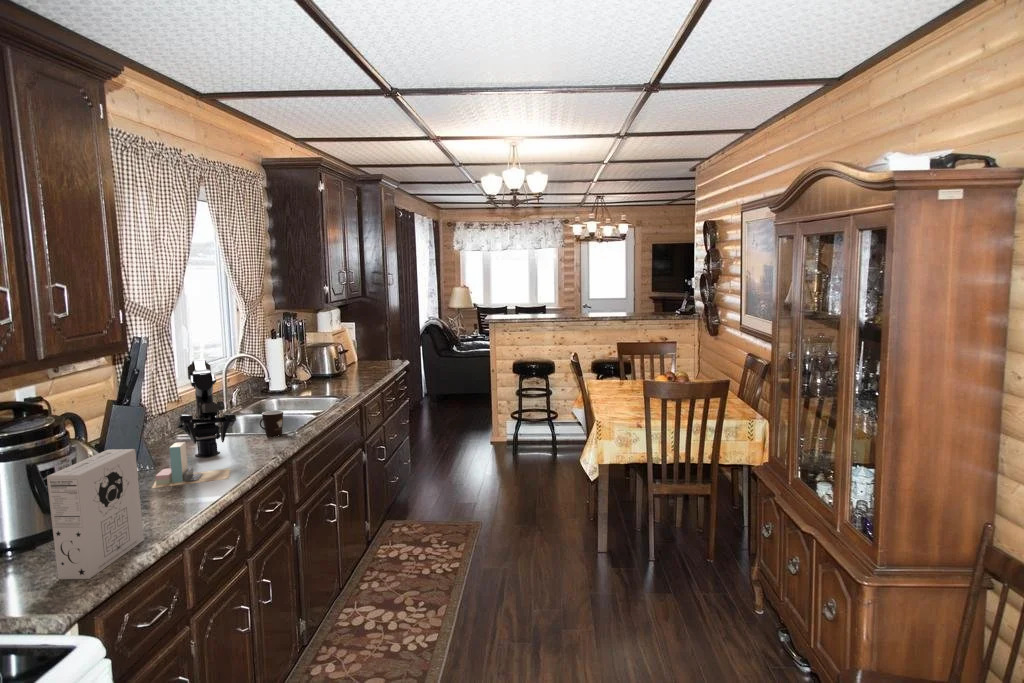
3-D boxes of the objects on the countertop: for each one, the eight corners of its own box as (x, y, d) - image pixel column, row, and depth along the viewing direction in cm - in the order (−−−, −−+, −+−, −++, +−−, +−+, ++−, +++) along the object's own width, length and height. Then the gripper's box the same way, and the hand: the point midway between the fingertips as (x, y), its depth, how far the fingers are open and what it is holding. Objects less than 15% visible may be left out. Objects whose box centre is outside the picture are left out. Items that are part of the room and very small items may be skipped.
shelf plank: (151, 491, 211) (151, 488, 211) (158, 480, 222) (157, 477, 222) (228, 482, 218) (228, 478, 218) (231, 471, 230) (230, 468, 230)
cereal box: (116, 540, 173) (107, 449, 170) (144, 540, 173) (135, 448, 170) (57, 580, 151) (45, 475, 148) (89, 579, 151) (78, 475, 148)
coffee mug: (279, 431, 285) (277, 409, 284) (288, 434, 279) (286, 412, 278) (253, 437, 277) (251, 414, 276) (261, 440, 271) (260, 417, 270)
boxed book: (178, 477, 221) (175, 442, 220) (188, 476, 222) (185, 441, 221) (172, 482, 215) (169, 447, 214) (182, 482, 216) (179, 446, 215)
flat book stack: (164, 477, 222) (163, 468, 221) (177, 476, 222) (176, 467, 222) (156, 484, 214) (155, 476, 213) (169, 483, 215) (168, 475, 214)
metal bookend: (191, 475, 223) (190, 467, 222) (202, 474, 223) (202, 466, 223) (184, 482, 216) (184, 473, 216) (197, 481, 217) (196, 472, 216)
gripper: (182, 392, 225) (186, 434, 219) (238, 392, 237) (243, 432, 231) (174, 407, 232) (178, 447, 226) (229, 406, 244) (234, 444, 238)
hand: (209, 442), depth 230 cm, fingers open, 9 cm apart
